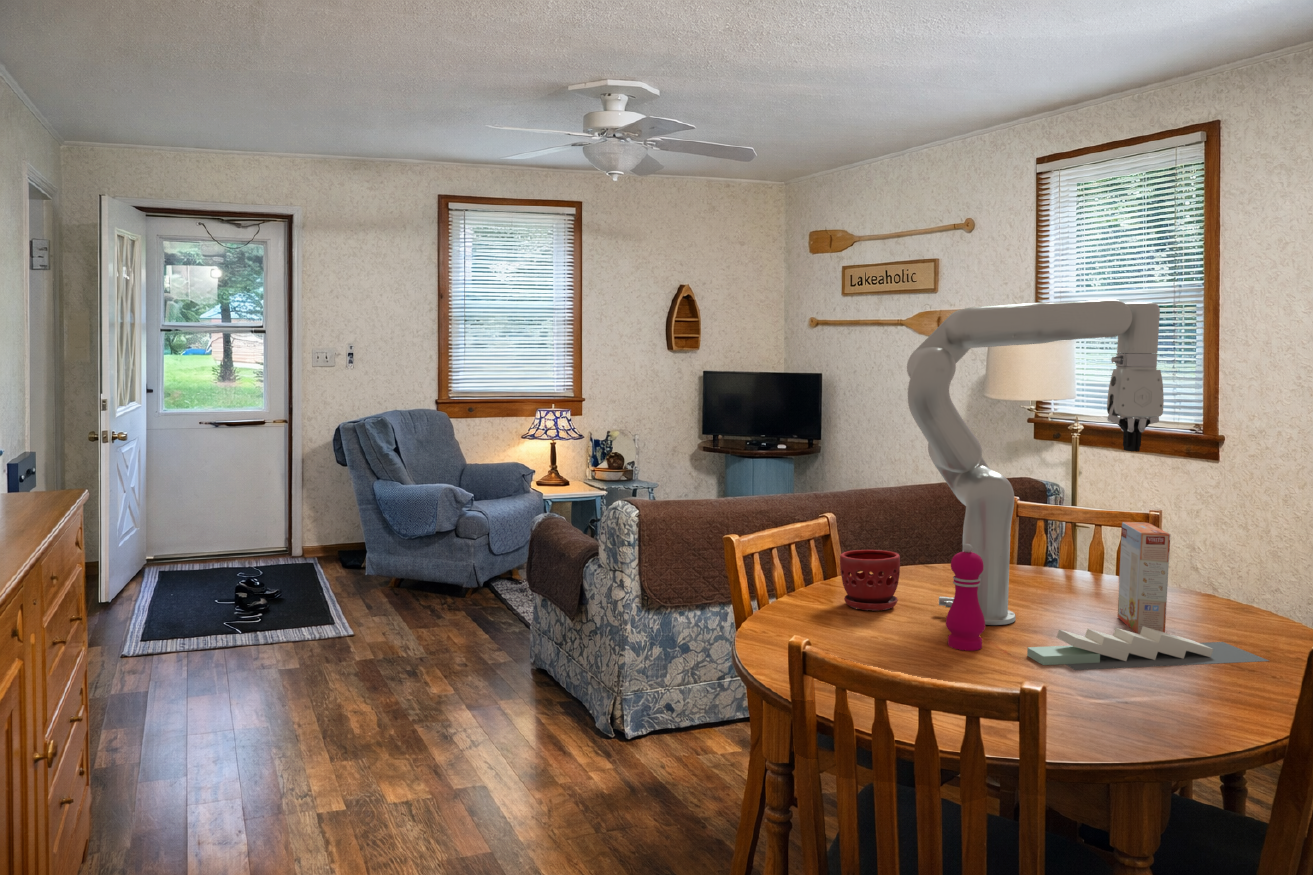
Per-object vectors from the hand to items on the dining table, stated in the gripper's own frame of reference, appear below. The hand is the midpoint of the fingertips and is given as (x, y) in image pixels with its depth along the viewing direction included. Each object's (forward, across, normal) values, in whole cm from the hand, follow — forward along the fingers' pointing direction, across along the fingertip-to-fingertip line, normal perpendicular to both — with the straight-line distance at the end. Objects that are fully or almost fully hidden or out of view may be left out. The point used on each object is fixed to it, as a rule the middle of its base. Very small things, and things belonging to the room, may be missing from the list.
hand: (1131, 450), depth 204 cm
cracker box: (+36, +1, -5) cm, 37 cm away
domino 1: (+35, -16, -25) cm, 46 cm away
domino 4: (+35, +1, -24) cm, 42 cm away
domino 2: (+35, -10, -25) cm, 44 cm away
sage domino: (+35, -21, -25) cm, 48 cm away
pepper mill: (+37, -41, -14) cm, 57 cm away
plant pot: (+37, -49, +17) cm, 64 cm away
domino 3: (+35, -5, -24) cm, 43 cm away
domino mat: (+36, -9, -25) cm, 45 cm away
